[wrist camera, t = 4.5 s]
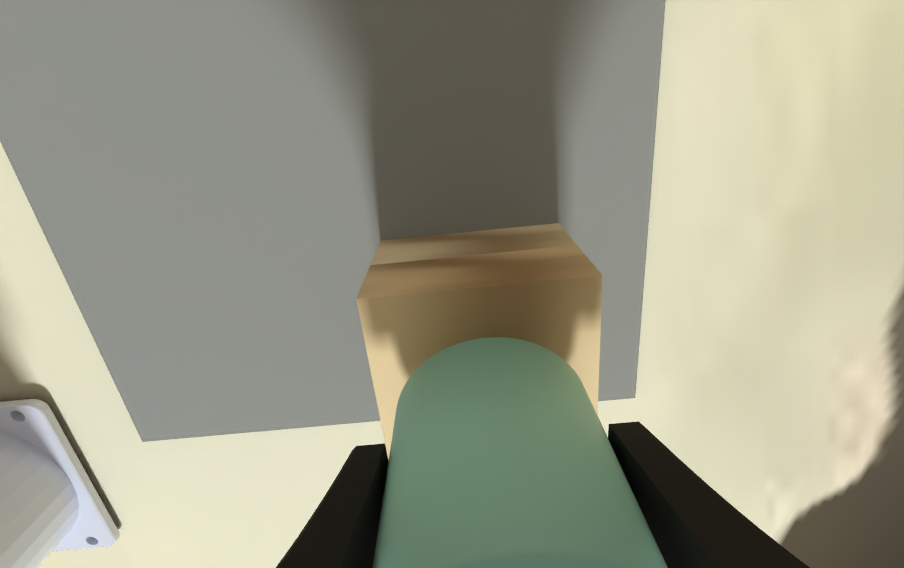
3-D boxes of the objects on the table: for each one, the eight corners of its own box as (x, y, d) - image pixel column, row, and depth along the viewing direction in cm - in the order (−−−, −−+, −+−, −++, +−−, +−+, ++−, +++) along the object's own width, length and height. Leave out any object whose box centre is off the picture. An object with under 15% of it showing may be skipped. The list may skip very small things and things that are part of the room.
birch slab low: (405, 387, 18) (399, 427, 16) (380, 240, 15) (370, 265, 13) (559, 373, 18) (575, 412, 15) (558, 223, 15) (576, 245, 13)
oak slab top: (399, 427, 16) (392, 480, 14) (370, 265, 13) (356, 299, 11) (575, 412, 15) (595, 463, 13) (576, 245, 13) (602, 275, 11)
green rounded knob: (412, 501, 12) (392, 761, 7) (378, 350, 10) (323, 572, 5) (589, 482, 12) (683, 736, 7) (588, 325, 10) (712, 532, 5)
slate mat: (146, 436, 19) (142, 441, 19) (-65, -18, 13) (-76, -20, 12) (632, 393, 18) (635, 397, 18) (668, -103, 12) (673, -107, 12)
